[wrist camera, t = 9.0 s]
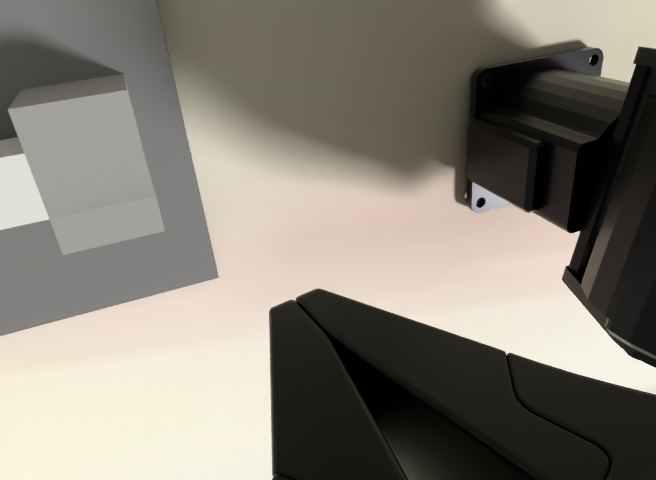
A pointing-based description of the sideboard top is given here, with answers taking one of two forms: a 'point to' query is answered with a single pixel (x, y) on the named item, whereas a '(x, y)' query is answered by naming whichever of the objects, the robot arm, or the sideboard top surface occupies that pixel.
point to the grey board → (92, 162)
